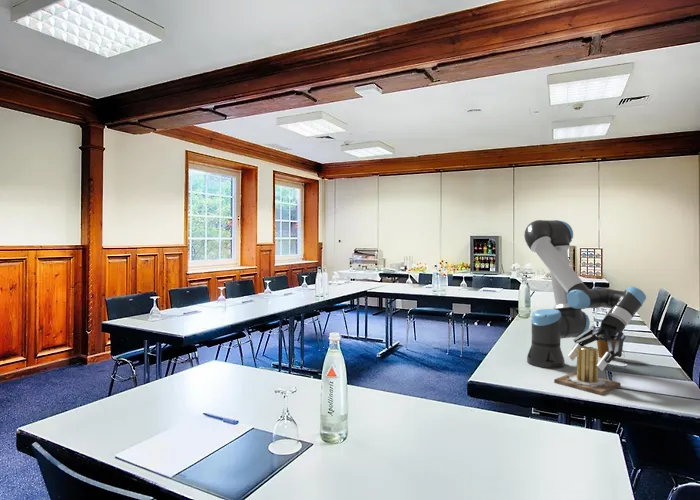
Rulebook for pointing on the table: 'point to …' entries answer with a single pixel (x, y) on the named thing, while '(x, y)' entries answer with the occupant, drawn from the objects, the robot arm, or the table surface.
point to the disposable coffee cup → (603, 347)
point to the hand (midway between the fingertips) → (584, 363)
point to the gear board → (587, 384)
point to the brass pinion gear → (587, 364)
